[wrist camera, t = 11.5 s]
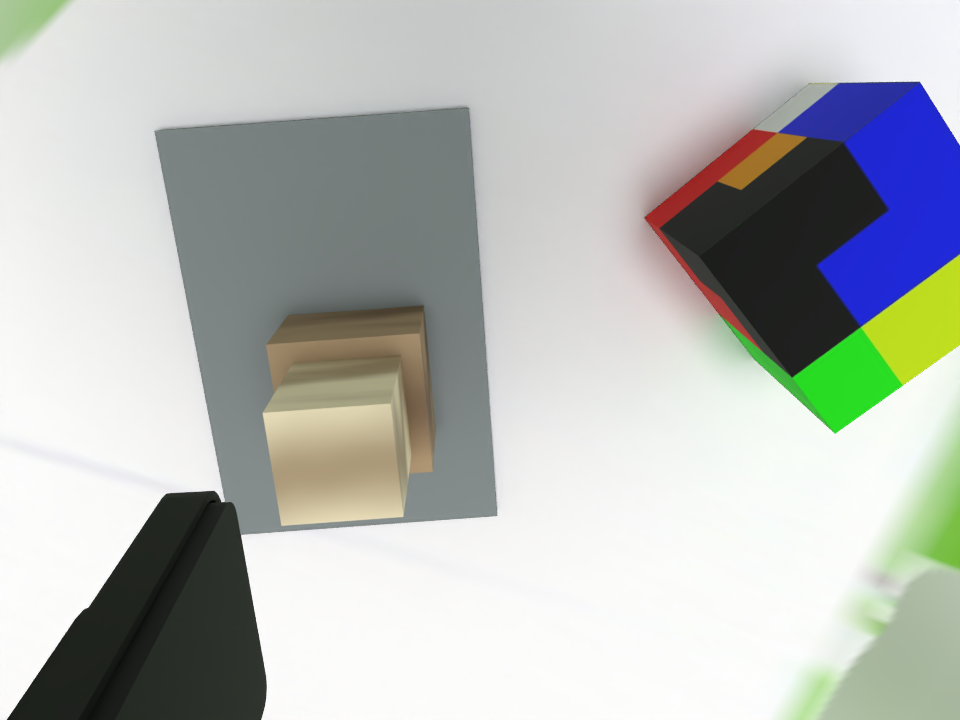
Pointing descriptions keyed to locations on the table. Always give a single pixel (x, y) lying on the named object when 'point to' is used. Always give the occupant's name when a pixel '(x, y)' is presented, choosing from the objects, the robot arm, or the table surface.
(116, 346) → the table surface
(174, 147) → the mat
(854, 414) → the puzzle toy
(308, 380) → the maple block
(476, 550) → the table surface
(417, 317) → the walnut block
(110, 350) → the table surface
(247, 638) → the robot arm
